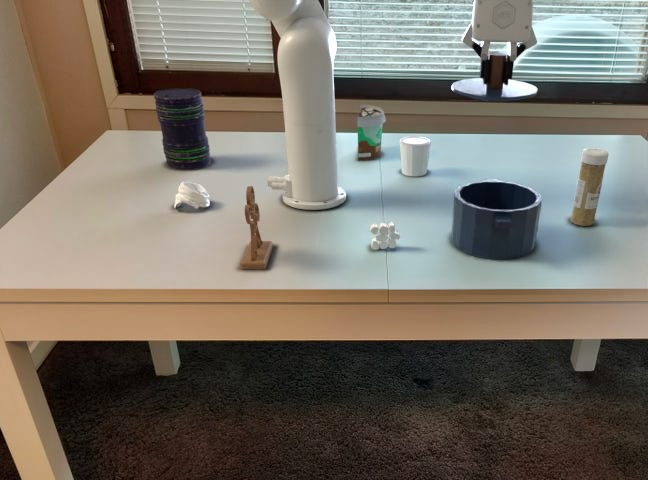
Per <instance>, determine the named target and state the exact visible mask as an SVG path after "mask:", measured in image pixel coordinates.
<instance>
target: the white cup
mask: <svg viewBox="0 0 648 480" xmlns="http://www.w3.org/2000/svg"><path fill="white" fill-rule="evenodd" d="M431 144H432V141H431V140H430V139H429V138H426V137H422V136H405V137H402V138H400V139H399V151H400V164H401V168H400V169H401V174H402V175H404V176H407V177H422V176H426V175H427V173H428V165H429V159H430V152H431Z"/></svg>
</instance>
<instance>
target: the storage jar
mask: <svg viewBox="0 0 648 480" xmlns="http://www.w3.org/2000/svg"><path fill="white" fill-rule="evenodd" d="M153 97H154V98H153V99H154V100H155V101H154V102H155V112H156V114H157V121H158V122H159V124H160V129H161V134H162V140H161V142H162V146H163V149H162V150H163V154H164V157H165V159H166V163H165V164H166V166H167V167H168V168H169V169H173V170H178V171H192V170H198V169H202V168H206V167H208V166H209V165H211V163H212V159H211V157H210V156H211V152H210V150H211V148H210V144H209V137H208V136H207V132H206V126H205V120H206V117H205V116H206V115H205V112H204V111H205V108H204V107H205V106H204V103H203V99H202V91H201V90H200V89H199V90H198V89H196V88H187V87H174V88H173V87H172V88H167V89H166V88H165V89H161V90H160V89H159V90H157V91H155V92H154V93H153Z"/></svg>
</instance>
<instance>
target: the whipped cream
mask: <svg viewBox="0 0 648 480" xmlns="http://www.w3.org/2000/svg"><path fill="white" fill-rule="evenodd" d="M178 186H179V187H178V188H177V190H178V193H176V194H175V202H174V204H173V207H174V209H175V210H177V209H178V207H180V206H181V204H182V203H184V204H187V205H189V206H191V207H193V208H194V209H196V210H198V209H199V208H200V207H201V208H208V207H209V206H210V204H211V203H210V194H209V193H208V191H207V190H206V189H205V187H204V186H202V185H201V184H199V183H195V182H192V181H182V182H180V184H179V185H178Z"/></svg>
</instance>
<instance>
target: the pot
mask: <svg viewBox="0 0 648 480" xmlns="http://www.w3.org/2000/svg"><path fill="white" fill-rule="evenodd" d="M453 194H454V195H453V206H452V222H451V243H452V244H453V246H455V248H456V249H458V250H459V251H461V252H462V253H465V254H466V255H470V256H473V257H477V258H481V259H487V260H513V259H517V258H521V257H524V256H526V255H528V254H530V253H531V252H532V251H533V250H534V248H535V245H536V243H537V236H538V230H539V223H540V217H541V211H542V210H541V209H542V203H543V198H542V196H541V194H540V192H538V191H537V190H535V189H534V188H532V187H530V186H527V185H524V184H521V183H518V182H511V181H504V180H499V179H495V178H494V179H493V178H491V179H490V178H485V179H484V180H478V181H471V182H466V183H464V184H462V185H459V186H458V187H457V188H456V189H455V190H454V193H453Z"/></svg>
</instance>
